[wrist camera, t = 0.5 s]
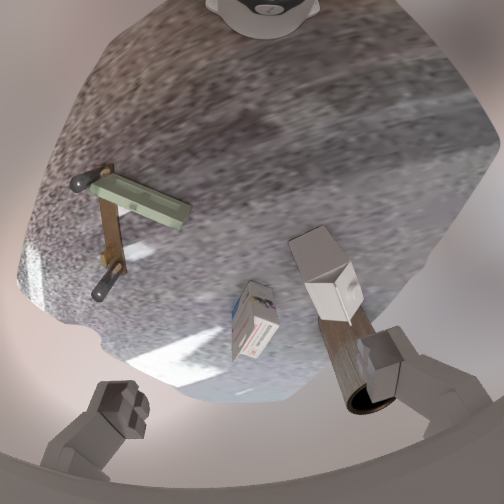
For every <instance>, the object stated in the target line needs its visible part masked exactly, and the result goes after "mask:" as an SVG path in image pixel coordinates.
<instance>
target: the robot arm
mask: <svg viewBox="0 0 504 504" xmlns="http://www.w3.org/2000/svg"><path fill="white" fill-rule="evenodd" d="M206 8H207V9H208V10H210V11H212V12H214V13H216V14H218V15H219V16H221V17H222V19H223V20H224V21H225V22H226V23H227V25H228V26H229V27H231V28H232V29H233V30H235V31H236V32H238V33H240V34H242V35H244V36H247V37H251V38H255V39H275V38H280V37H283V36H285V35H288V34H290V33H291V32H293V31H294V30H296V29H297V28H298V27H299V26H300V25H301V23H302V22H303V21H304V20H305V19H307V18H310V17H312V16H314V15H316V14H318V12H319V10H320V6H319V2H318V0H206ZM357 347H358V349H359V351H360V353H359V354H358V355H357V358H358V367H359V371H360V374H361V377H362V379H363V380H364V381H366V382H367V391H368V394H369V396H370V399H371V401H372V403H375V402H378V401H381V400H385V399H388V398H391V397H394V396H395V397H396V398H397V399H399V400H400V401H401V402H403V403H405V404H406V405H408V406H409V407H411V408H412V409H413V410H415V411H416V412H418V413H419V414H421V415H423V416H424V417H425V418H427V419H429V420H430V422H429V425H428V427H427V429H426V431H425V433H424V436H423V437H424V440H422V441H420V442H417V443H415V444H413V445H410V446H408V447H405V448H403V449H400V450H398V451H395V452H393V453H390V454H387V455H384V456H381V457H378V458H375V459H372V460H369V461H367V462H363V463H360V464H356V465H353V466H350V467H346V468H342V469H339V470H334V471H330V472H327V473H322V474H318V475H314V476H309V477H304V478H298V479H293V480H287V481H281V482H274V483H266V484H259V485H249V486H238V487H223V488H163V487H149V486H138V485H128V484H120V483H113V482H110V478H109V476H107V475H106V474H105V473H103V472H102V471H101V470H102V469H103V468H104V467H105V465H106V464H107V463H108V462H109V460H110V459H111V458H112V456H113V455H114V454H115V453H116V451H117V450H118V449H119V448H120V446H121V445H122V444H123V442H124V441H125V439H144V434H145V430H146V424H145V422H144V420H145V419H146V418H147V417H148V416H149V411H150V407H149V402H148V399H147V397H146V396H145V394H144V393H142V392H140V391H138V388H139V386H138V385H137V384H136V382H135V381H132V380H127V381H101V382H99V383H98V384H97V387H96V390H95V392H94V394H93V396H92V399H91V401H90V404H89V407H88V409H87V411H86V412H83V413H82V414H81V415H79V416H78V417H77V418H76V419H75V420H74V421H73V422H72V423H70V425H68V426H67V427H66V428H65V429H64V430H63V431H61V432H60V433H59V434H58V435H57V436H56V437H55V438H53V439H52V440H51V441H50V442H49V443H48V445H47V448H46V451H45V453H44V456H43V459H42V461H41V464H40V466H38V465H35V464H31V463H29V462H26V461H23V460H20V459H17V458H14V457H12V456H9V455H6V454H4V453H1V452H0V504H504V396H503V397H501V398H500V399H498V400H496V401H495V402H493V401H492V400H491V398H490V396H489V395H488V394H487V392H486V390H485V389H484V388H483V386H482V385H481V384H480V382H479V380H478V379H477V378H476V377H475V376H473V375H470V374H468V373H466V372H463V371H461V370H459V369H456V368H454V367H451V366H449V365H447V364H444V363H442V362H440V361H438V360H435V359H433V358H431V357H428V356H426V355H423V354H422V355H419V354H418V353H417V351H416V350H415V349H414V347H413V345H412V344H411V342H410V341H409V339H408V338H407V336H406V335H405V333H404V332H403V330H402V329H401V328H400V327H399V326H395V327H392V328H390V329H386V330H385V331H384V330H383V331H380V332H377V333H374V334H371V335H368V336H365V337H361V338H358V341H357Z"/></svg>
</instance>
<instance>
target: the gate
mask: <svg viewBox="0 0 504 504" xmlns="http://www.w3.org/2000/svg"><path fill="white" fill-rule="evenodd" d="M89 192H90V193H92V194H94V195H96V196H99V197H101V198H103V199H106V200H108V201H110V202H113V203H115V204H117V205H120V206H122V207H124V208H127V209H129V210H131V211H134V212H136V213H138V214H141V215H143V216H145V217H148V218H150V219H152V220H155V221H157V222H159V223H162V224H164V225H166V226H169V227H171V228H173V229H176V230H178V231H180V229H181V227H182V225H183V223H184V221H185V219H186V218H187V216H188V214H189V212H190V209H191V207H192V206H190V205H188V204H185V203H183V202H181V201H178V200H176V199H174V198H171V197H169V196H167V195H164V194H162V193H159V192H157V191H155V190H152V189H150V188H148V187H145V186H143V185H140V184H138V183H136V182H133V181H131V180H128V179H126V178H124V177H121V176H119V175H116V174H114V173H113V174H111V175H108V176H106V177H104V178H102V179H100V180H98V181H96V182H94V183H92V184H91V187H90V191H89Z"/></svg>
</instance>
